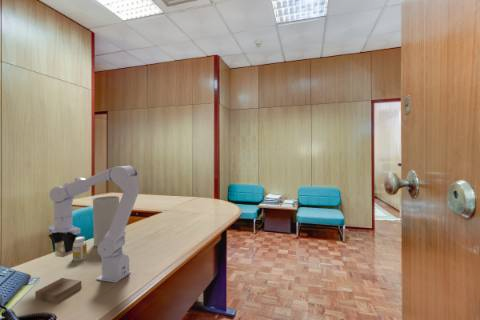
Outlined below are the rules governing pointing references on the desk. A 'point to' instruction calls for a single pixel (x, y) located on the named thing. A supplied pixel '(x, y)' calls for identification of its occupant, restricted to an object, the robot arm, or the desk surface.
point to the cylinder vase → (103, 216)
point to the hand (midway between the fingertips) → (64, 251)
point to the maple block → (61, 250)
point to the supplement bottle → (79, 249)
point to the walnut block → (58, 290)
